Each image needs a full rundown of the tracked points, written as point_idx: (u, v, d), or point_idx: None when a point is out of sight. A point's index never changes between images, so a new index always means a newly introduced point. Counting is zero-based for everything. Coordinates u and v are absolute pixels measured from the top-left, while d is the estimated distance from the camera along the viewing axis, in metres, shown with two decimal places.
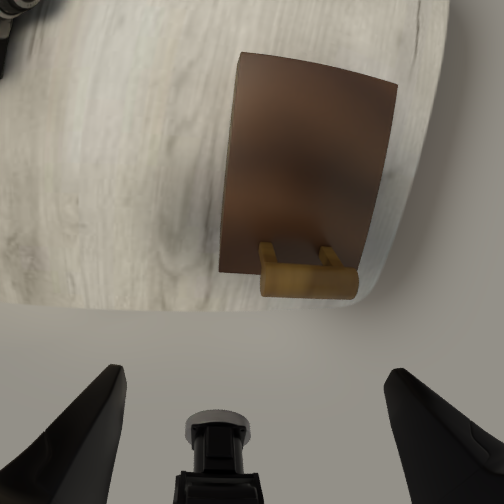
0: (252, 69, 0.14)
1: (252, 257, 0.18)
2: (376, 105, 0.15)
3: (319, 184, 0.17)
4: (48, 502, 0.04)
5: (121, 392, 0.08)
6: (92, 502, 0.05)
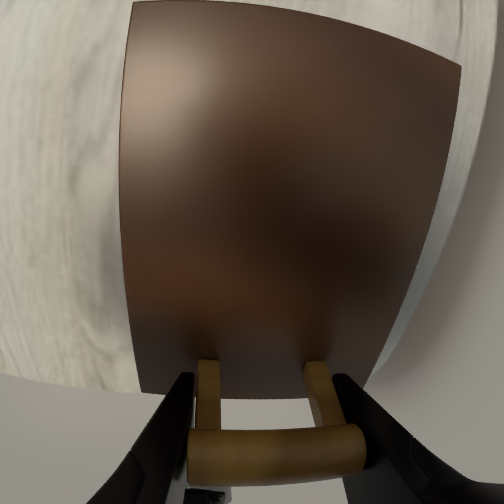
0: (154, 32, 0.06)
1: None
2: (424, 103, 0.07)
3: (306, 266, 0.08)
4: None
5: None
6: None
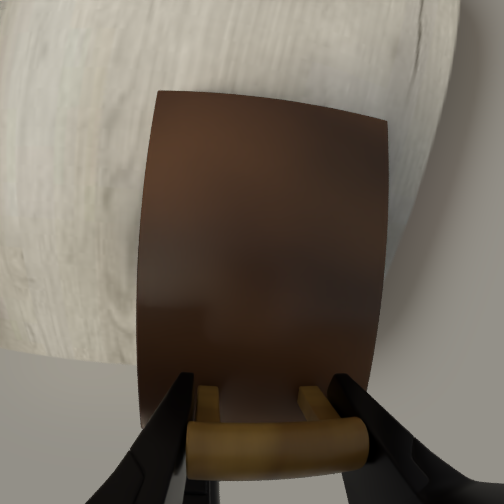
0: (172, 112, 0.10)
1: None
2: (362, 152, 0.11)
3: (287, 286, 0.10)
4: None
5: (193, 400, 0.09)
6: None
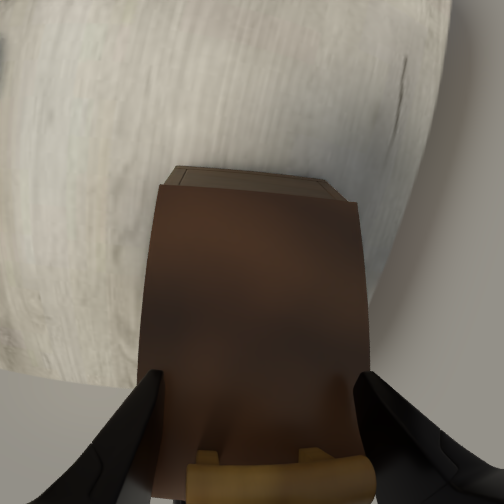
0: (172, 203, 0.12)
1: None
2: (337, 231, 0.13)
3: (279, 353, 0.11)
4: None
5: (162, 397, 0.09)
6: None
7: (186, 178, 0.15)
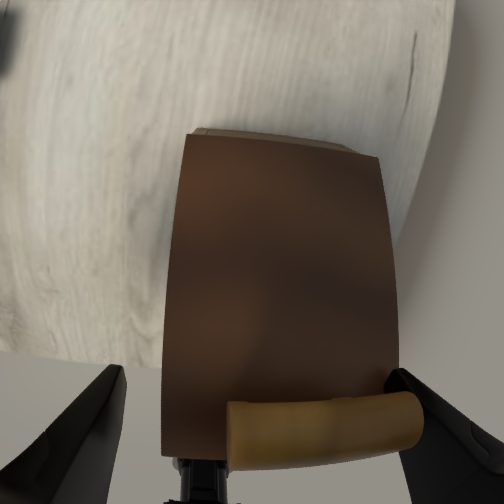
0: (200, 150, 0.12)
1: (217, 429, 0.09)
2: (361, 182, 0.13)
3: (310, 296, 0.11)
4: (48, 502, 0.04)
5: (121, 392, 0.08)
6: (92, 502, 0.05)
7: (210, 134, 0.14)
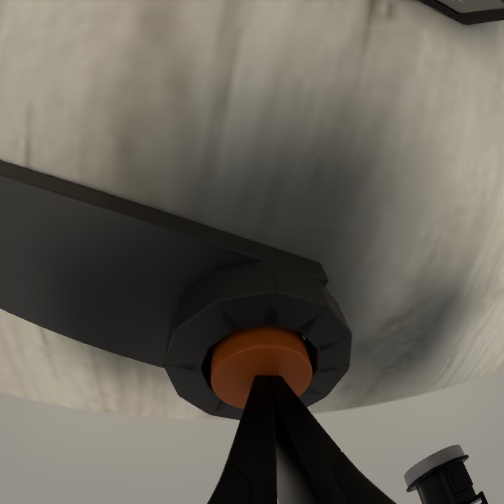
0: None
1: None
2: None
3: None
4: None
5: None
6: None
7: None
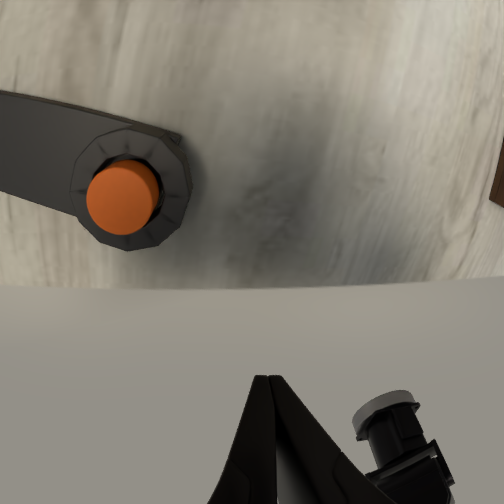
0: None
1: None
2: None
3: None
4: None
5: None
6: None
7: None
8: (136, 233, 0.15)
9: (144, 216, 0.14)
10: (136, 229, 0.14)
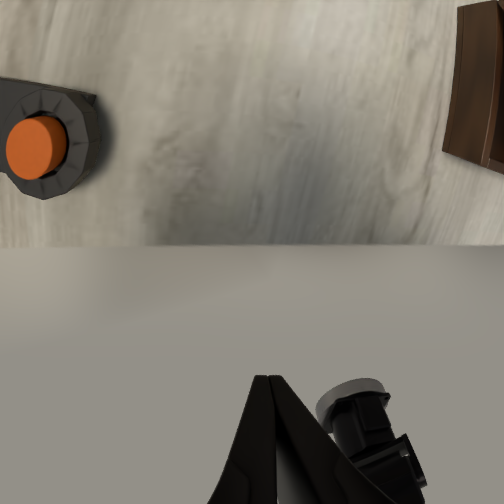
0: None
1: None
2: None
3: None
4: None
5: None
6: None
7: None
8: (49, 181, 0.15)
9: (46, 160, 0.13)
10: (41, 173, 0.13)
